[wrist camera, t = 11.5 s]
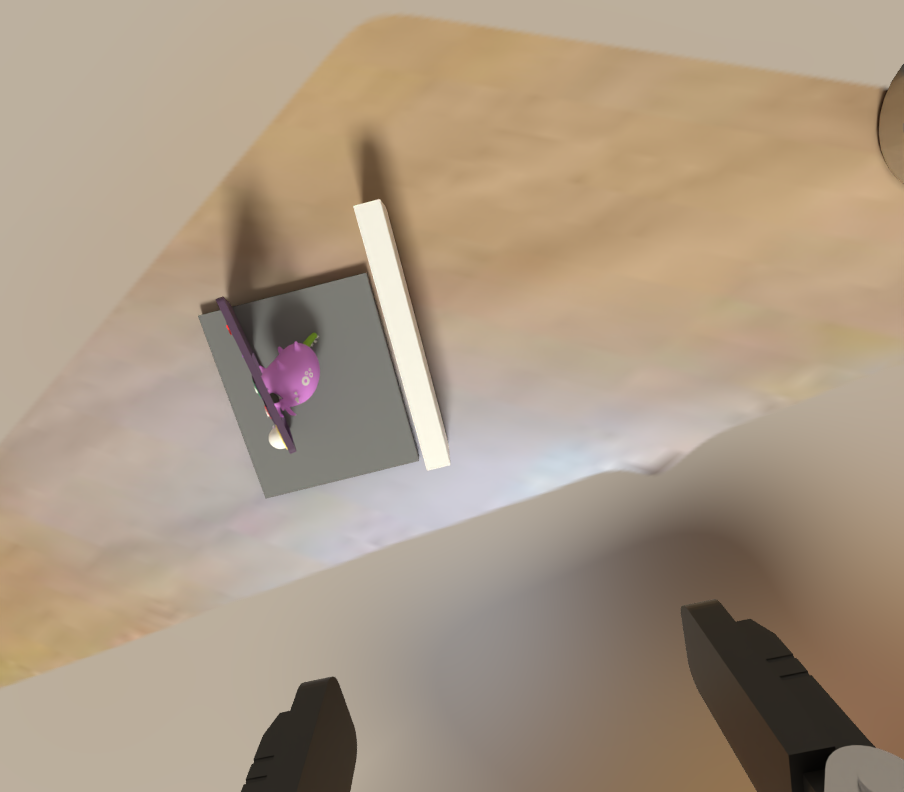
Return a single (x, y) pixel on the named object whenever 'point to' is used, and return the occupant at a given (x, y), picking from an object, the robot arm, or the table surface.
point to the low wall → (403, 331)
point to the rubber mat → (318, 386)
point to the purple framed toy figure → (278, 377)
